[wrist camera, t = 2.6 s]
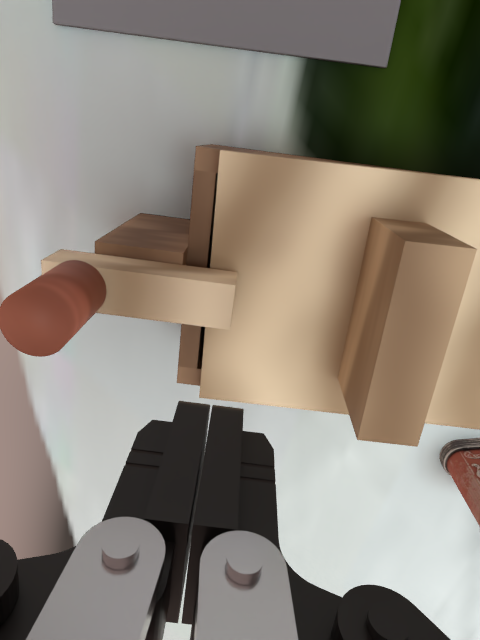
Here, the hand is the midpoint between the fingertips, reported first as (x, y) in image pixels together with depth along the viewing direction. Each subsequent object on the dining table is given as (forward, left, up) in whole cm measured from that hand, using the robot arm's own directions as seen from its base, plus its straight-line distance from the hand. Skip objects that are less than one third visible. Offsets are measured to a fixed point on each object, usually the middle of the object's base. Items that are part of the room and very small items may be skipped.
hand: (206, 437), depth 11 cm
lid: (-7, 0, -13) cm, 14 cm away
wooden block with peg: (+4, 0, -11) cm, 12 cm away
